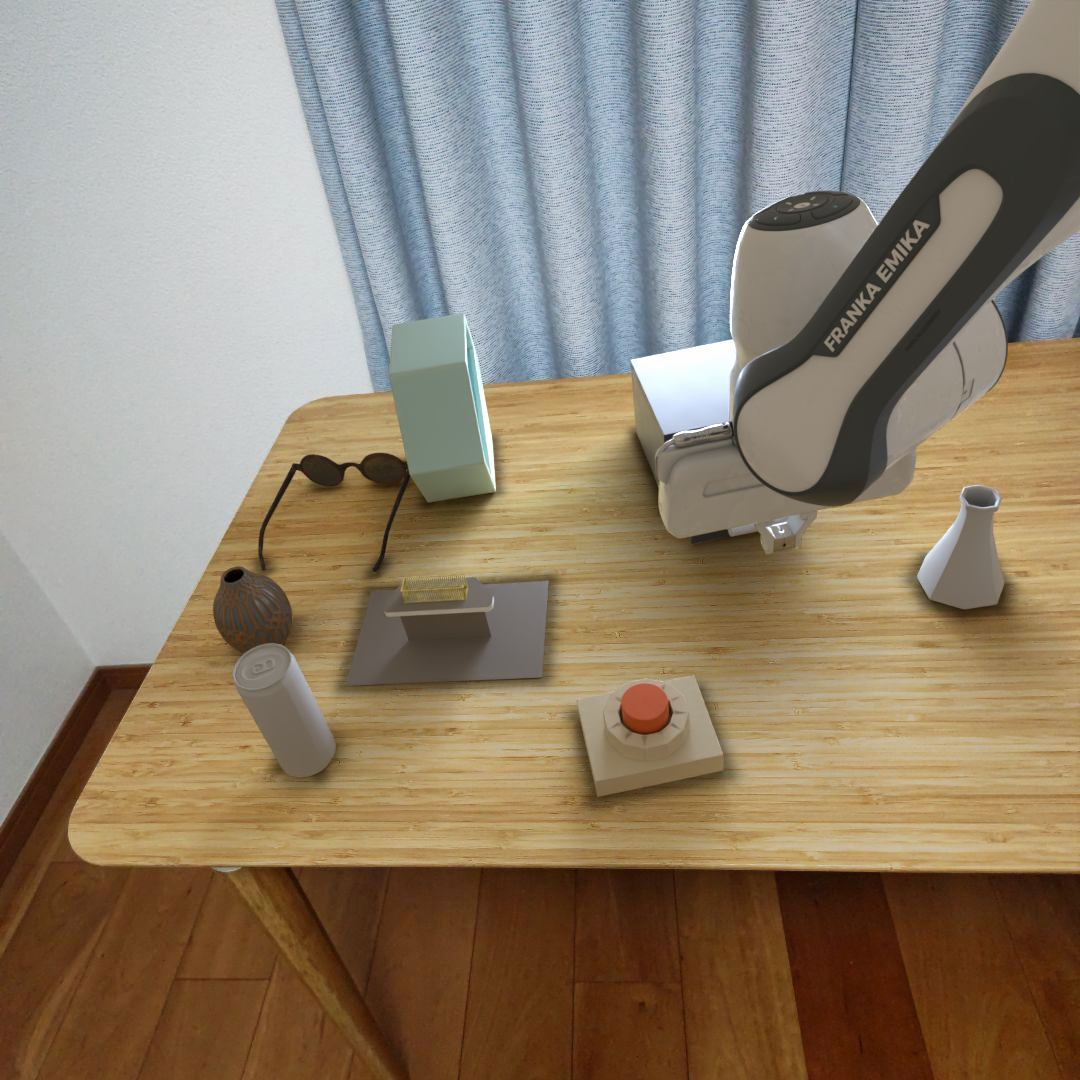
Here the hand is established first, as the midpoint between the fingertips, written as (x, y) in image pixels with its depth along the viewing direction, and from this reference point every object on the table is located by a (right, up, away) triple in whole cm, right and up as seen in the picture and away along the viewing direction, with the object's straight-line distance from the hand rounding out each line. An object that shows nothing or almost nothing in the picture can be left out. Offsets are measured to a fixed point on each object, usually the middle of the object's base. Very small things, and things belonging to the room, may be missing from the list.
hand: (780, 546), depth 77 cm
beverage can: (-40, -18, -1) cm, 44 cm away
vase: (-47, -9, +11) cm, 49 cm away
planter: (-30, +8, +26) cm, 40 cm away
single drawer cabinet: (-2, +10, +22) cm, 24 cm away
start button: (-12, -13, -7) cm, 19 cm away
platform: (-29, -8, +8) cm, 31 cm away
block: (-12, -16, -4) cm, 20 cm away
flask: (+17, -3, +4) cm, 18 cm away
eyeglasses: (-42, +2, +22) cm, 48 cm away
